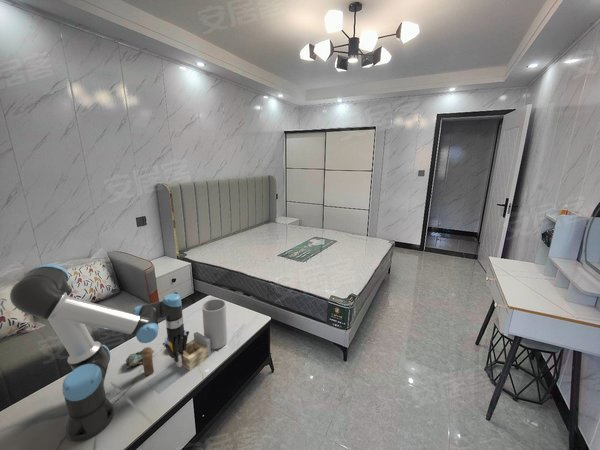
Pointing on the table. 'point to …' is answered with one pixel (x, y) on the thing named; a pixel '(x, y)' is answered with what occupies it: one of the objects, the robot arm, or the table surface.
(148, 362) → the dowel
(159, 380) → the grey corner bracket
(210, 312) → the cylinder vase
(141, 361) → the mineral specimen
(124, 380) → the table surface
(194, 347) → the block
